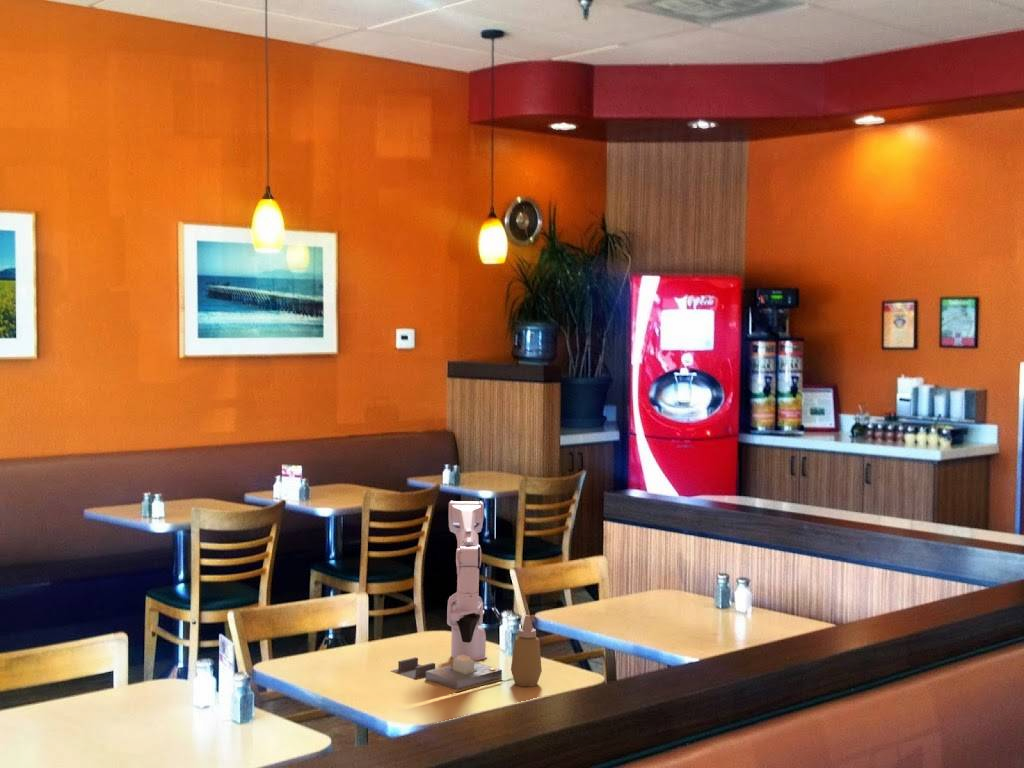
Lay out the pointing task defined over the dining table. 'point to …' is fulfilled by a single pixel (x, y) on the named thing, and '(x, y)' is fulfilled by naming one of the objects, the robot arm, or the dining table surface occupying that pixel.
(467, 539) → the robot arm
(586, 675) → the dining table surface
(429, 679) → the port block
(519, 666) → the squeeze bottle
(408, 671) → the dark grey holder base
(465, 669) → the plug
